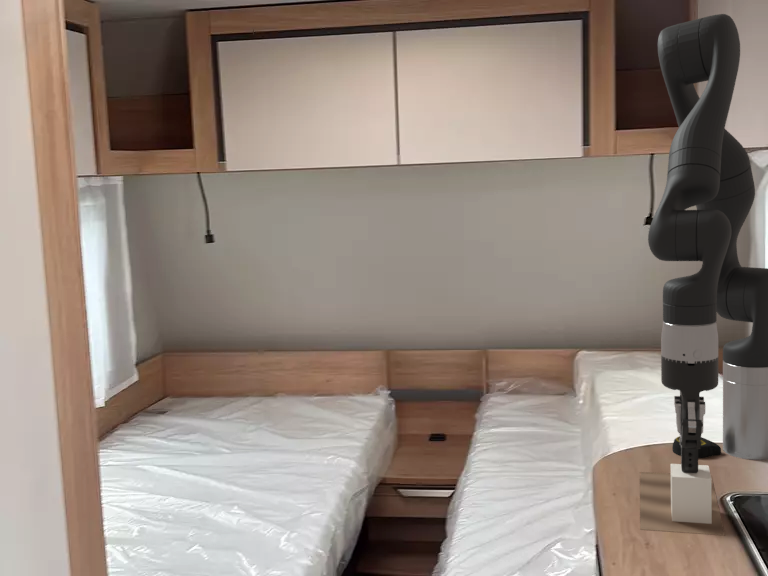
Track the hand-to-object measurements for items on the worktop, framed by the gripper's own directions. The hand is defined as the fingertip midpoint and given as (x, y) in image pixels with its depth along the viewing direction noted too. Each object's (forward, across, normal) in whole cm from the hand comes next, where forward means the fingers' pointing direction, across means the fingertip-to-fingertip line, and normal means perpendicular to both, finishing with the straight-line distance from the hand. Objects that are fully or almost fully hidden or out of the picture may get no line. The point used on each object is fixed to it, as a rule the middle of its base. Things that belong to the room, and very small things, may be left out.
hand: (689, 471), depth 118 cm
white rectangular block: (+7, 0, 0) cm, 7 cm away
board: (+8, -5, -1) cm, 10 cm away
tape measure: (+8, -28, +3) cm, 29 cm away
